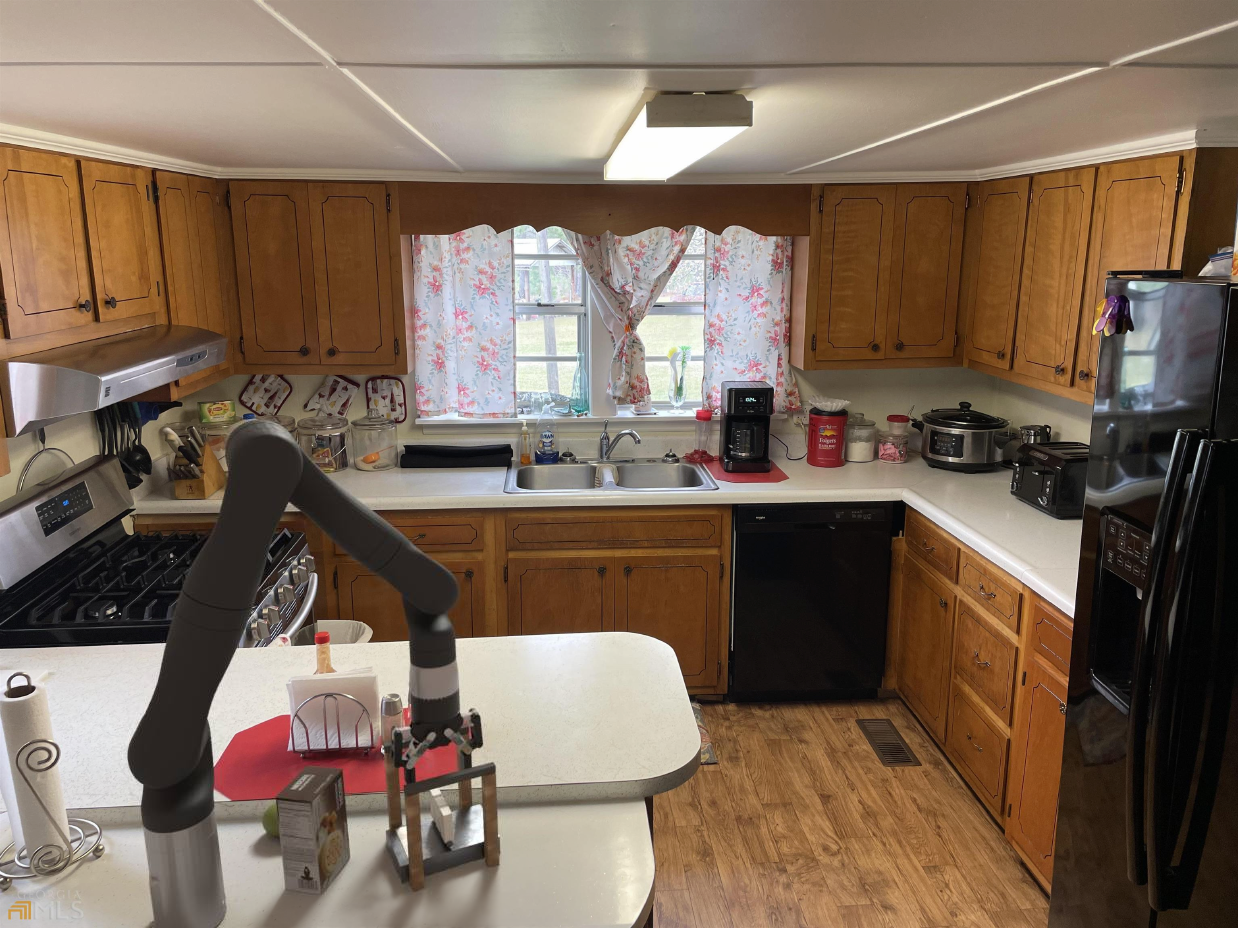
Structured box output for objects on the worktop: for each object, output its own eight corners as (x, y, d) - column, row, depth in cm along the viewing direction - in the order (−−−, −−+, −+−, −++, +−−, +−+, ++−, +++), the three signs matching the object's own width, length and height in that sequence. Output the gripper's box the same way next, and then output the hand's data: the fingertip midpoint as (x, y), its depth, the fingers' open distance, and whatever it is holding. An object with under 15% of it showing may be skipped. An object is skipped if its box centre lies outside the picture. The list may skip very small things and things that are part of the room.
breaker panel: (401, 883, 138) (400, 865, 137) (386, 846, 147) (385, 829, 146) (500, 852, 145) (499, 835, 144) (480, 819, 154) (480, 803, 153)
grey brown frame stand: (412, 891, 136) (407, 797, 133) (389, 835, 150) (383, 748, 146) (499, 864, 142) (495, 773, 139) (469, 812, 156) (465, 728, 152)
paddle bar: (445, 848, 141) (444, 816, 140) (430, 817, 149) (428, 787, 148) (454, 846, 142) (453, 814, 140) (438, 815, 149) (437, 785, 148)
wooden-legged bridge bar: (385, 753, 145) (384, 746, 144) (383, 749, 146) (383, 742, 146) (469, 732, 151) (468, 726, 151) (467, 729, 152) (466, 723, 152)
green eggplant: (279, 790, 153) (327, 811, 150) (277, 817, 154) (325, 838, 151) (255, 808, 148) (305, 830, 145) (254, 835, 149) (303, 858, 146)
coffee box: (315, 852, 145) (307, 762, 142) (351, 857, 144) (344, 767, 141) (283, 890, 137) (274, 796, 133) (322, 896, 135) (313, 800, 132)
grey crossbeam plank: (405, 796, 133) (405, 789, 133) (403, 792, 134) (403, 784, 134) (495, 772, 139) (495, 765, 139) (493, 768, 140) (493, 761, 140)
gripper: (394, 706, 133) (400, 803, 137) (486, 686, 140) (489, 779, 143) (383, 685, 140) (388, 779, 143) (471, 667, 146) (474, 757, 150)
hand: (439, 779), depth 143 cm, fingers open, 8 cm apart
